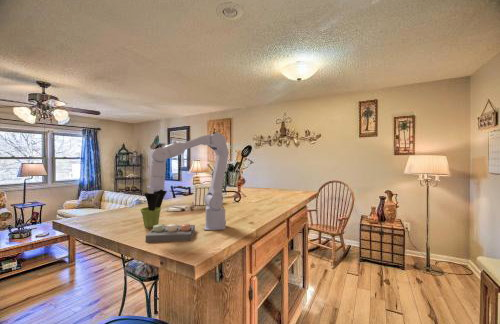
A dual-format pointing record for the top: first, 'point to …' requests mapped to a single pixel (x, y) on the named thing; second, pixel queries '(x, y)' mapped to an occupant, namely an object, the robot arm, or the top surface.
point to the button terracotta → (184, 227)
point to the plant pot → (150, 216)
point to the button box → (170, 235)
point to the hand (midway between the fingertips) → (154, 208)
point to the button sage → (158, 228)
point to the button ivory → (172, 228)
